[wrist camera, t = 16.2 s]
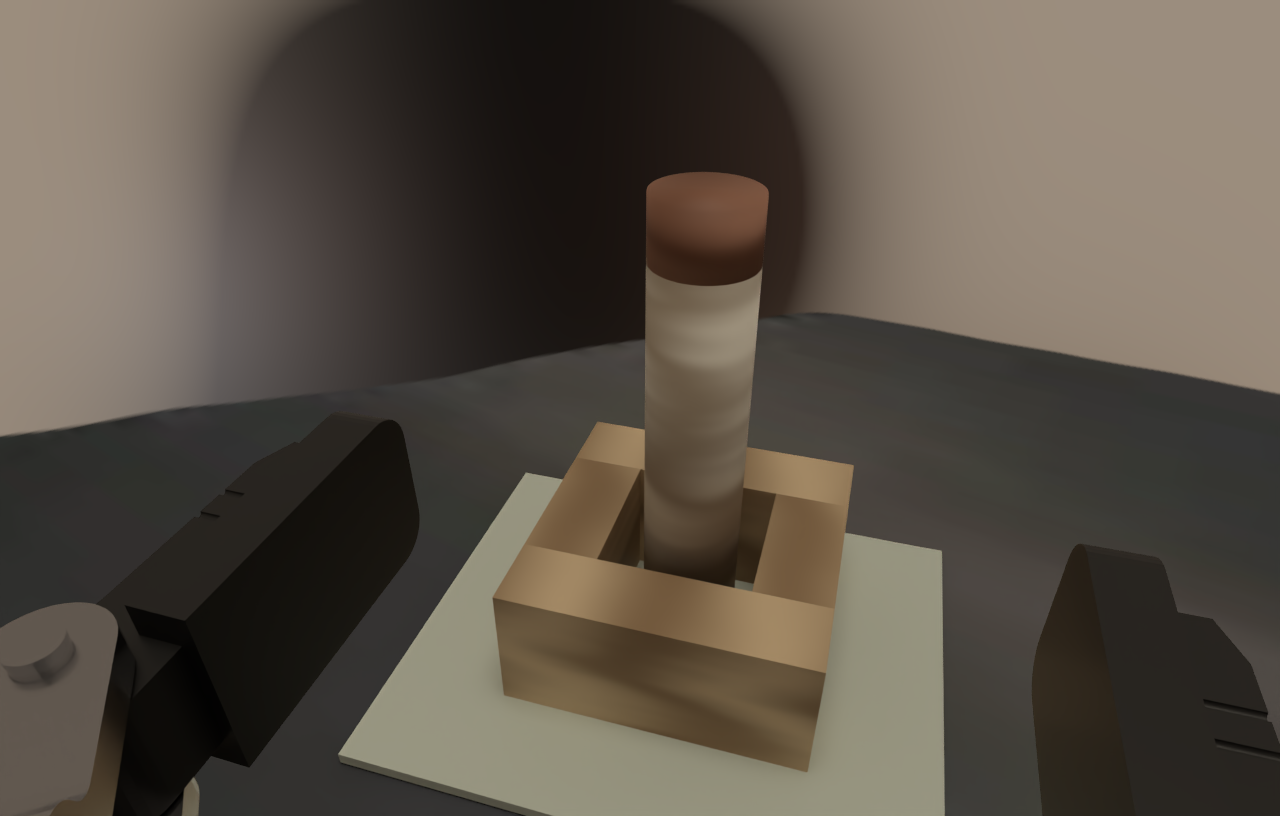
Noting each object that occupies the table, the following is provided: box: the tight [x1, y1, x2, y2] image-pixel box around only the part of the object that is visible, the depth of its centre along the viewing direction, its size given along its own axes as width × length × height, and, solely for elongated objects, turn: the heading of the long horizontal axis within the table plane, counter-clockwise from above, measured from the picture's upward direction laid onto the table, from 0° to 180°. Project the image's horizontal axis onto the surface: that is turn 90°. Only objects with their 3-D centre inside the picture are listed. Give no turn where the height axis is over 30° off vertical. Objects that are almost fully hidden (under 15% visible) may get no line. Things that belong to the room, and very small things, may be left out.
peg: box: [644, 172, 769, 588], centre depth 27 cm, size 3×3×16 cm
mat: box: [338, 473, 945, 816], centre depth 30 cm, size 18×15×1 cm
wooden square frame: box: [492, 422, 854, 772], centre depth 30 cm, size 10×10×4 cm
